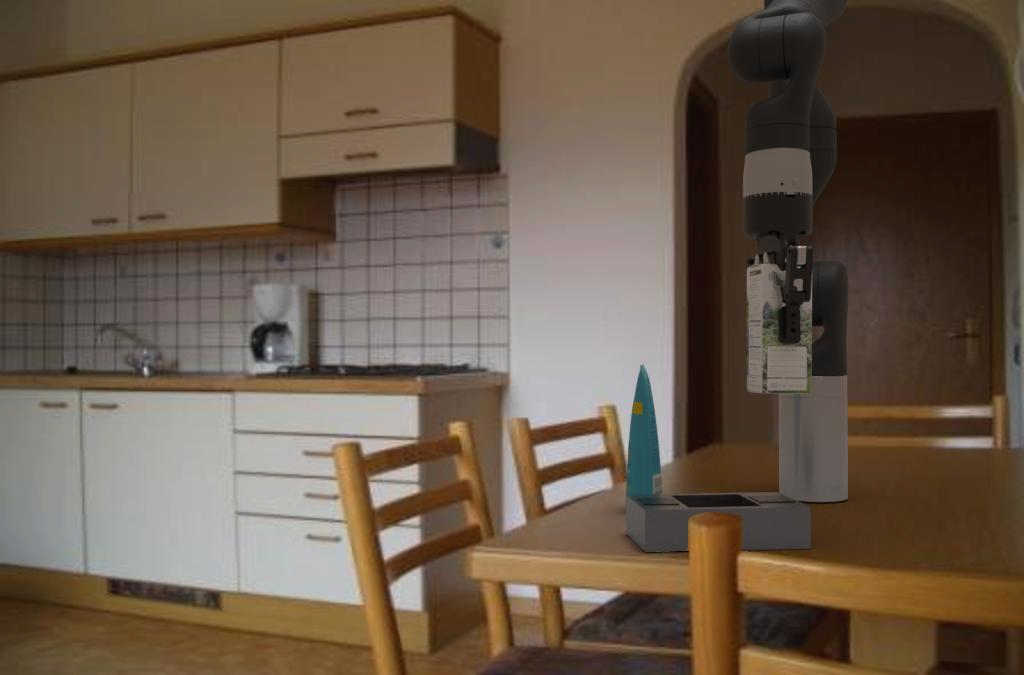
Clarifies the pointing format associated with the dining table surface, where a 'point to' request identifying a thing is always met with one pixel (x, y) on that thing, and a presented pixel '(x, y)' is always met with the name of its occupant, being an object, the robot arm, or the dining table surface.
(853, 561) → the dining table surface
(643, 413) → the tube
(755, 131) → the robot arm
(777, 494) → the grey open box
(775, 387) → the syrup box
